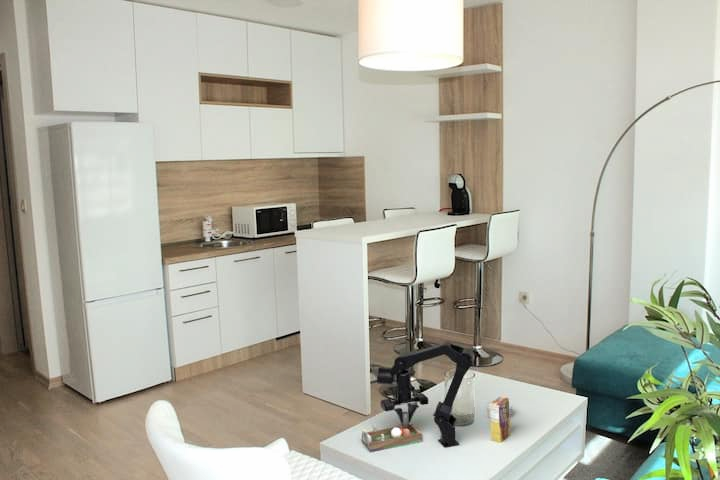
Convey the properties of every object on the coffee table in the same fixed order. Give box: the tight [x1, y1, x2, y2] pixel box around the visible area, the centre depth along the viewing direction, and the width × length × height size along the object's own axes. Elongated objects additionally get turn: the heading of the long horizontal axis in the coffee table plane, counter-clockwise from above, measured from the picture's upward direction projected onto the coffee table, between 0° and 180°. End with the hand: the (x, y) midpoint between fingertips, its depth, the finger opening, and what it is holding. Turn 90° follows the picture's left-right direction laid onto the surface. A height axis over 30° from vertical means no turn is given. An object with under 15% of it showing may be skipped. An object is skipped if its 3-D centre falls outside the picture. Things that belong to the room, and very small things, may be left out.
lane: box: [361, 423, 423, 453], centre depth 242 cm, size 10×22×6 cm, turn 108°
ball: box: [391, 426, 402, 438], centre depth 242 cm, size 4×4×4 cm
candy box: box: [490, 396, 511, 443], centre depth 240 cm, size 9×4×15 cm, turn 140°
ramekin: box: [485, 399, 513, 419], centre depth 261 cm, size 11×11×5 cm
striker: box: [399, 411, 410, 436], centre depth 243 cm, size 7×3×10 cm, turn 18°
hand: (405, 422), depth 243 cm, fingers closed on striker, 3 cm apart
